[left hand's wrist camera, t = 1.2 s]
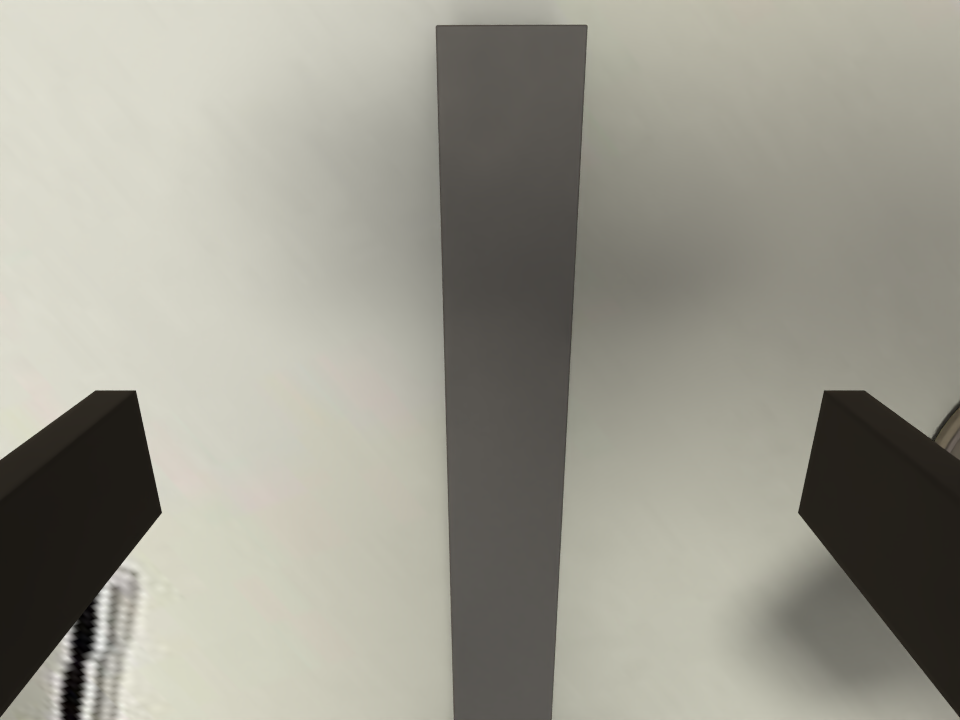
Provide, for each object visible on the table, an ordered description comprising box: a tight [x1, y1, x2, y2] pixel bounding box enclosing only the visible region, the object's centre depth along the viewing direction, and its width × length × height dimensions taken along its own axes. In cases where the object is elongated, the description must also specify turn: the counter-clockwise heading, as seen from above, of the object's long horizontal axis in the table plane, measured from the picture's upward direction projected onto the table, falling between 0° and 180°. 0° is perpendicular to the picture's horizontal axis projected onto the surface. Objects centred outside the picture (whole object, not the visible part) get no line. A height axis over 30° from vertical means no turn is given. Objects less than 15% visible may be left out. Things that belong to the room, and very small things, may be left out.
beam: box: [436, 25, 587, 720], centre depth 35 cm, size 55×5×8 cm, turn 0°
